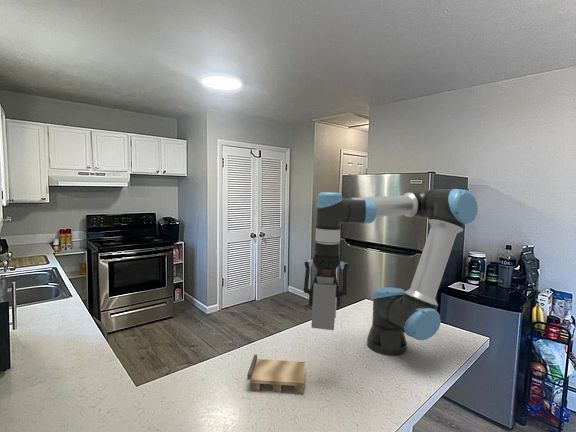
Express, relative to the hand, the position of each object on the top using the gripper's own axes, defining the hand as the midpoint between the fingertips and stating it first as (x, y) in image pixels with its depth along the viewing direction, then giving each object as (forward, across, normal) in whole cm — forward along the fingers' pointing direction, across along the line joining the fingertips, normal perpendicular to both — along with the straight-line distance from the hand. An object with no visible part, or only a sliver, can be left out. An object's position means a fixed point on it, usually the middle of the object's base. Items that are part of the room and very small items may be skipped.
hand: (323, 315), depth 101 cm
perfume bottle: (+3, 0, 0) cm, 3 cm away
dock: (+22, +13, +1) cm, 25 cm away
